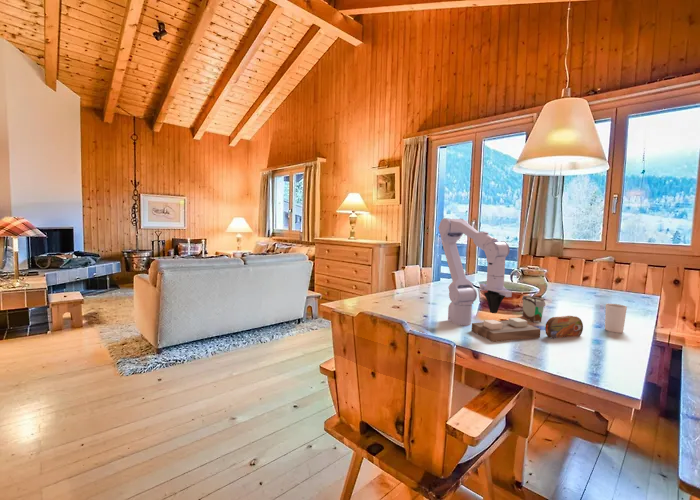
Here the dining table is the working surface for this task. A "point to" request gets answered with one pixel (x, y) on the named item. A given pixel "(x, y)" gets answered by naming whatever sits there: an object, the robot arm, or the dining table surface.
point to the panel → (506, 332)
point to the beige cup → (615, 317)
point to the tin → (564, 327)
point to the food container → (533, 308)
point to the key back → (517, 322)
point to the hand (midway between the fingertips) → (493, 312)
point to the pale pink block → (492, 324)
